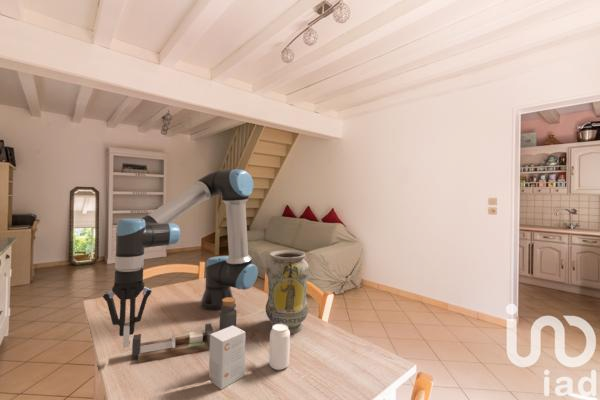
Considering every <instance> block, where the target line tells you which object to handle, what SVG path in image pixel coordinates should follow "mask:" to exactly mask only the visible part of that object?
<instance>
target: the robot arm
mask: <svg viewBox="0 0 600 400" xmlns="http://www.w3.org/2000/svg"><path fill="white" fill-rule="evenodd" d="M253 190H254V180H253V178H252V176H251V174H250V173H249V172H248V171H246V170H244V169H238V168H237V169H236V168H235V169H224V170H223V169H219V170H214V171H212V172H209V173H208V174H206V175H204V176H203V177H201V178H199V179H197V180H196V181H194V183H193V185H192V186H191V187H189V188H188V189H186V190H185V191H183V192H181V193H180V194H178V195H176V196H175V197H174V198H172V199H170V200H169V201H167V202H166V203H164V204H162V205H161V206H159V207H158V208H156V209H154V210H153V211H151V212H149V213H148V214H146V215H145V216H143V217H141V218H121V219H119V220H118V221H117V223H116V224H117V225H116V231H115V239H116V240H115V243H116V244H115V260H114V262H115V263H114V269H115V270H114V280H113V286H112V288H111V289H110V290H109V291H106V292H104V294H103V296H102V298H103V299H104V300H105V301H106V304H107V308H108V311H109V315H110V320H111V323H112V325H113V326H116V325H117V326H119V329H118V331H119V332H118V333H119V337H123V338H122V348H124V349H125V348H129V347H130V344H131V342H130V341H131V335H134V333H135V326H136V325H135V324H136V323H140V322H141V321H142V318H143V314H144V311H145V307H146V305H147V300H148V298H149V297H150V295H151V294H152V290H153V289H152V288H151V287H146V286H145V283H144V269H143V267H144V263H145V262H144V261H145V260H144V259H145V248H146V249H147V248H151V247H152V248H153V247H162V246H163V247H165V246H166V247H167V246H170V245H175V244H178V242H179V241H180V239H181V228H180V226H179V225H178V224H176V223H172V222H175V220H177V219H178V218H180V217H181V216H183V215H184V214H186V213H187V212H189V211H190V210H192V209H194V207H196V206H197V205H198V204H200V203H201V202H203V201H208V200H210V199H211V198H213V197H218V196H219V197H220V196H221V201H222V202H223V203H224V204H225V211H226V213H225V214H226V228H227V243H228V244H227V245H228V246H227V247H228V255H219V256H212V257H208V259H207V260H206V265H205V289H204V292H203V295H202V298H201V301H200V307H201V308H202V309H204V310H209V311H219V310H220V311H221V310H223V309H222V308H221V305H222V304H223V303H222V299H224V298H227V297H232V298H234V296H233V292H232V289H231V288H234V289H237V290H244V291H247V290H249V289H250V288H252V287H253V286H254V284H255V282H256V281H257V279H258V274H259V270H258V269H259V268H258V266H256V264H254V263H253V258H252V256H251V255H249V247H248V246H249V244H248V226H247V206H246V203H247V202H248V201H249V198H250V197H249V196H250V195H251V194H252V193H253ZM141 292H142V295H143V297H142V300H141V303H140V305H139V308H138V309H139V310H138V313H137V315H136V301H137V297H139V296H140V294H141ZM114 296H116V297H117V298H118V299H119V304H120V305H119V306H120V307H119V316H118V313H117V309H116V303H115V299H114ZM127 300H129V322H126V313H127V311H126V310H127Z"/></svg>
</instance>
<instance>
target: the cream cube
mask: <svg viewBox="0 0 600 400" xmlns="http://www.w3.org/2000/svg"><path fill="white" fill-rule="evenodd" d="M188 333H189V334H188V335H189V344H195V343H201V342H203V334H202V333H203V330H197V331H191V332H188Z"/></svg>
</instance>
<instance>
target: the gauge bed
mask: <svg viewBox="0 0 600 400" xmlns="http://www.w3.org/2000/svg"><path fill="white" fill-rule="evenodd" d="M212 333H215V331H214V328H213V325H212V323H205V324H204V332H202V334H203V342H201V343H195V344H189V334H186V335H183V336H177V337H176V336H175V348H170V349H164V350H159V351H153V352H147V353H142V354H139V355H138V358H137V361H138V362H137V364H138V365H139V364H144V363H149V362H155V361H160V360H167V359H171V358H177V357H181V356H187V355H192V354H193V355H194V354H199V353H202V352H208V351H209V352H210V334H212ZM167 341H172V337H171V338H165V339H158V340H154V341H146V342H141V346H143V345H149V344H155V343H161V342H167Z"/></svg>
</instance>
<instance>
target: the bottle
mask: <svg viewBox="0 0 600 400" xmlns="http://www.w3.org/2000/svg"><path fill="white" fill-rule="evenodd" d="M222 303H223V304H222V305H221V308H222V309H221V310H220V312H219V328H218V329H219V330H218V331H220V330H222V329H225V328H227V327H230V326H232V325H233V326H235V327H237V316H238V315H237V313H238V312H237V310H236V309H235V308H236V307H237V304H236V298H235V297H233V298H232V297H227V298H224V299H222Z"/></svg>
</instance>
